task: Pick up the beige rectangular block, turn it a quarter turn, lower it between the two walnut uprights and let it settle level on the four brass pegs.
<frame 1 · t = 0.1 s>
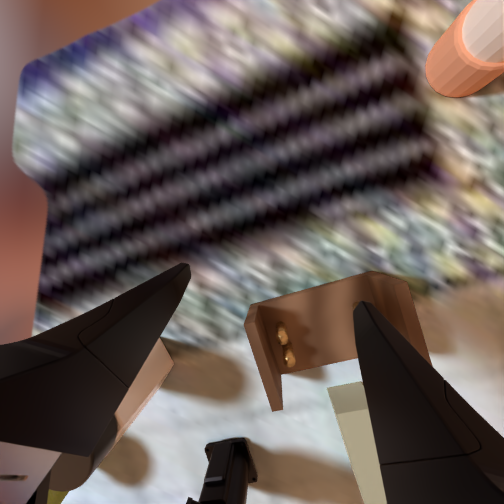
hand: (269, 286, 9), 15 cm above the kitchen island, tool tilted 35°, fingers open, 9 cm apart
jar: (148, 359, 28), on the kitchen island
shelf frame: (319, 323, 24), on the kitchen island
beige rectangular block: (355, 423, 25), on the kitchen island
pepper shaker: (458, 65, 20), on the kitchen island
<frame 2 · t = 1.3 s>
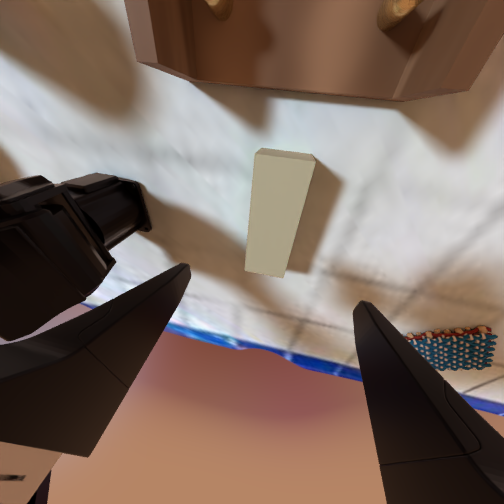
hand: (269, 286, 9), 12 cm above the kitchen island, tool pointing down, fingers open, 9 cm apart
beige rectangular block: (275, 211, 20), on the kitchen island
woven mat: (436, 342, 29), on the kitchen island
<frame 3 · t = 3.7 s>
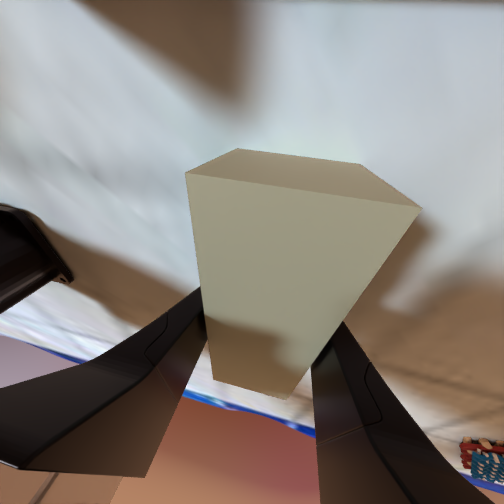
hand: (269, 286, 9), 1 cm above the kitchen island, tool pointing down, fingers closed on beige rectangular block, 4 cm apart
beige rectangular block: (271, 272, 10), on the kitchen island, touching gripper
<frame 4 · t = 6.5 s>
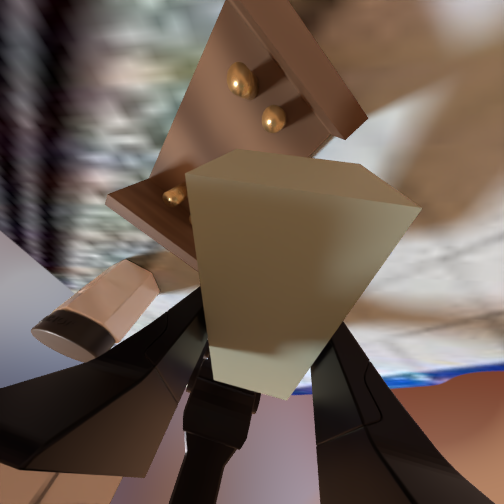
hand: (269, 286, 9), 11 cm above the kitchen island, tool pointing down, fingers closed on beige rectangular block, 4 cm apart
jar: (137, 277, 31), on the kitchen island
shelf frame: (228, 158, 16), on the kitchen island
beige rectangular block: (271, 273, 10), point 10 cm above the kitchen island, touching gripper
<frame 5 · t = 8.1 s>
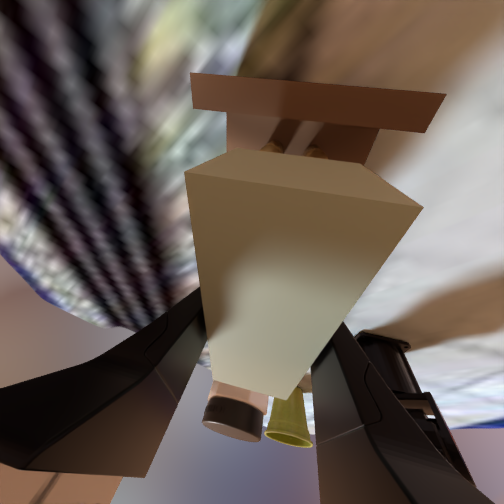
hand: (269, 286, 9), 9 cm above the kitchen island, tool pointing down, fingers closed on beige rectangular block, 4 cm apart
jar: (249, 342, 33), on the kitchen island
shelf frame: (281, 212, 17), on the kitchen island
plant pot: (289, 387, 42), on the kitchen island
beige rectangular block: (271, 272, 10), point 8 cm above the kitchen island, touching gripper
when the fingers open (6 cm above the kitchen island, at t = 9.4 s): beige rectangular block drops 1 cm, resting on shelf frame.
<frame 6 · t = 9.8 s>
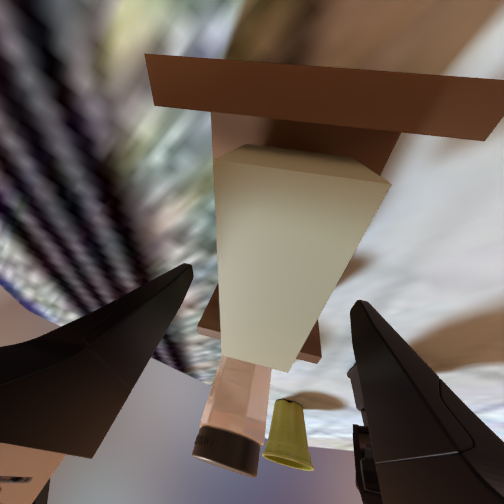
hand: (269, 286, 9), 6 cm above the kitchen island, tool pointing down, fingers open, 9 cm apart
jar: (246, 359, 31), on the kitchen island
shelf frame: (278, 227, 14), on the kitchen island
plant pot: (288, 403, 40), on the kitchen island
beige rectangular block: (274, 257, 11), point 4 cm above the kitchen island, touching shelf frame
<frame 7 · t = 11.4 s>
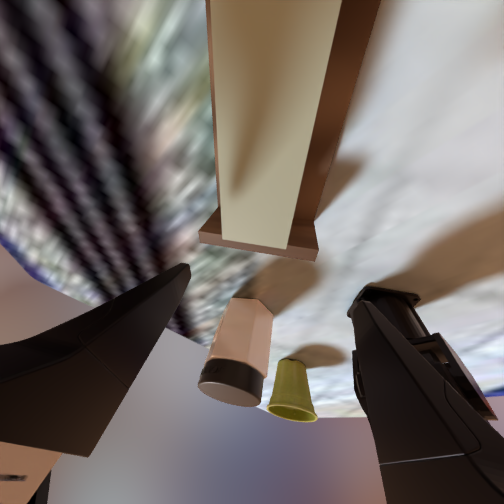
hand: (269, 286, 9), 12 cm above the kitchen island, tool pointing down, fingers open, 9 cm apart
jar: (248, 311, 31), on the kitchen island
shelf frame: (274, 132, 15), on the kitchen island
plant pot: (291, 363, 41), on the kitchen island
beige rectangular block: (270, 136, 12), point 4 cm above the kitchen island, touching shelf frame
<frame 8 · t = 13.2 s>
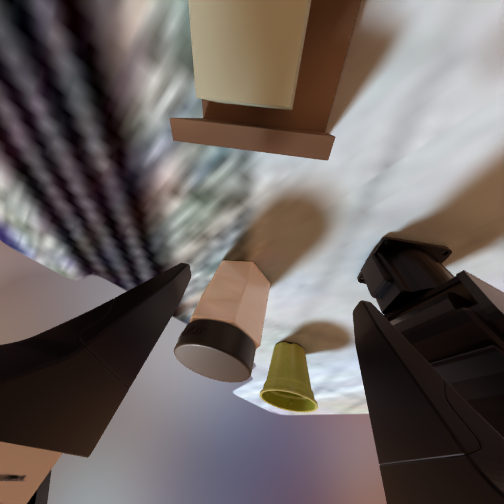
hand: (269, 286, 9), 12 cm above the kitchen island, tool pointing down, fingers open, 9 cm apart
jar: (241, 279, 27), on the kitchen island
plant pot: (289, 348, 36), on the kitchen island
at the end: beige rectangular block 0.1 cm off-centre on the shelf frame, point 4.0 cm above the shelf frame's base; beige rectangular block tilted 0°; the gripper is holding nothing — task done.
